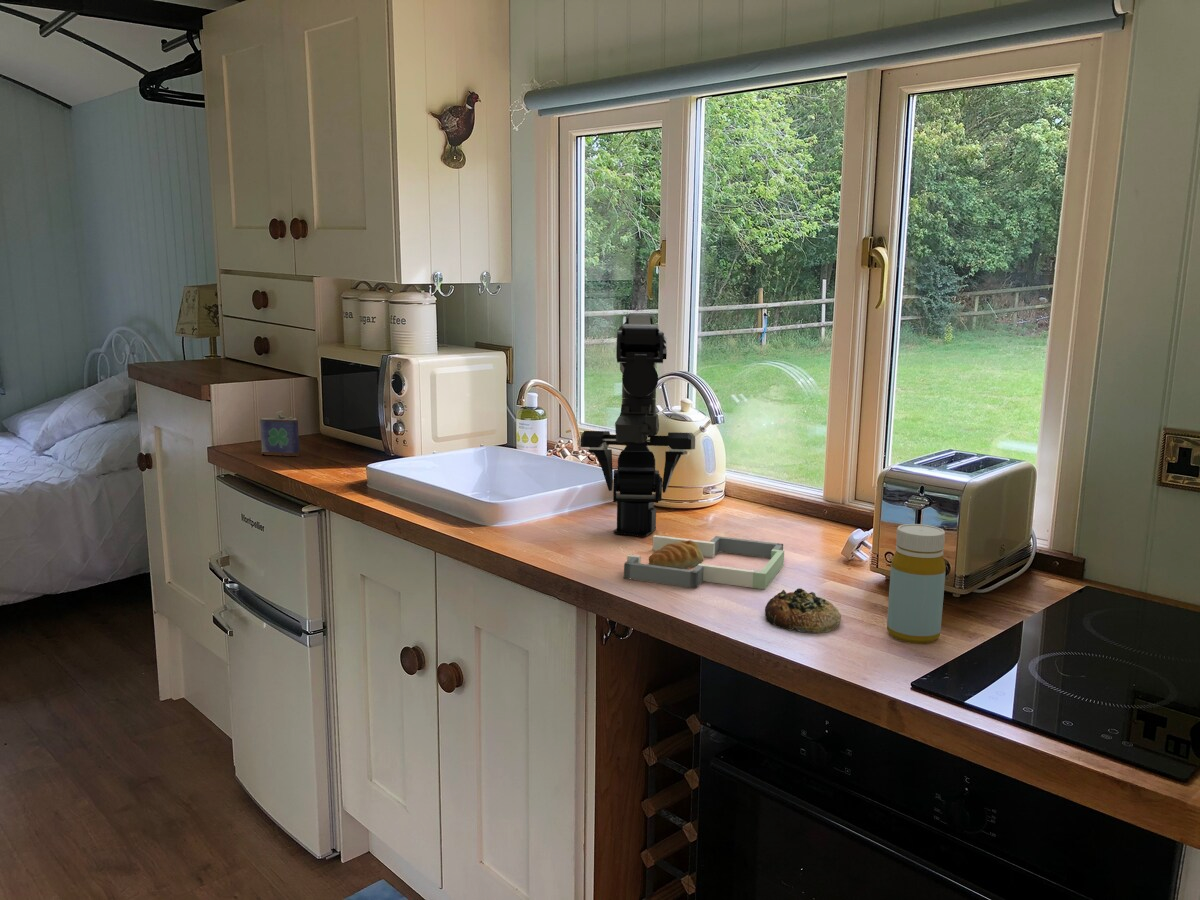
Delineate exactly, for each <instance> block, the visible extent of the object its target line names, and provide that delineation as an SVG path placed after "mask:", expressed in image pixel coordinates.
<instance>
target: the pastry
mask: <svg viewBox="0 0 1200 900" xmlns="http://www.w3.org/2000/svg"><path fill="white" fill-rule="evenodd" d="M691 540H692V539H691ZM691 540H688V541H681V542H679V543H671V544H667V545H664V546H663V548H661V549H660V550H657V551H655V550H654V552H653V553H651V555H649V557H648V565H655V566H663V567H670V568H678V569H689V568H695V567H696V566H697V565H698V564H699V563H700V564H703V562H704V560H705V559H704V557H703V556H702V552H701V551H700V549H699V546H698V544H696V543H695V542H693V541H691Z"/></svg>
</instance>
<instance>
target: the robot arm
mask: <svg viewBox="0 0 1200 900" xmlns="http://www.w3.org/2000/svg"><path fill="white" fill-rule="evenodd" d="M615 346H616V347H615V349H616V357H615V358H616V363H617V364H618V363H619V371H620V372H621V374H622V376H621V382H622V383H621V384H622V385H621V404H620V405H621V407H620V414H619V416H618V417H617V419H616V421H615V423H614V428H615V429H614V430H615V434H611V433H610V431H609V430H584V431H583V432H582V433H581V435H580V448H589V449H587V450H588V451H587V452H588V453H592V454H594V456H595V457H596V459H597V460H598V463H599V465H600V467H601V470H602V471H601V472H602V473H603V476H604V480H605V483H606V486H607V489H608V491H609V492H610V491H611V492H612V491H613V492H612V493H613V494H612V495H613V499H612V502H613V503H616V528H615V529H614V530H613V534H615V535H623V536H624V535H626V536H633V537H641V538H646V537H648V536H649V535H651V534H652V533H653V532H655V531H656V530H657V508H656V507H655V506H654V505H655V504H657V503H659V502H662V495H663V494H662V493H664V494H665V493H667V489H668V487H669V484H670V482H671V479H672V476H673V474H674V470H675V468H676V466H677V465H678V462H679V461H680V459H681V456H685V455H687V454H688V451H689V450H696V436H695V434H694V433H693V432H667V435H657V434H659V433H658V432H659V431H660V422H659V421H660V420H659V413H656V412H657V411H656V410H657V407H656V406H657V386H658V384H659V374H658V372H657V369H656V367H657V366H656V364H663V363H664V360H667V355H668V354H667V338H666V336H665V333H664V332H663V330H660V326H659V325H658V324H656V323H655V324H654V323H653V314H650V313H643V312H639V313H638V312H629V314H625V322H624V323H623V324H622V325H621V326H620V327H619V328H618V329H617V330H616V345H615ZM648 438H649V439H648ZM609 446H625V447H624V448H623V450H621V451H620V453H619V455H618V458H617V469H613V451H612V449H610V448H608V447H609ZM650 446H651V447H667V448H668V450H667V451H665V453H664V454H665V459H664V460H665V461H664V469H663V477H662V476H661V474H660V470H659V469H658V470H656V458H655V455H654V453H653V451H651V450H650V449H649V447H650ZM687 450H688V451H687Z"/></svg>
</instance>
